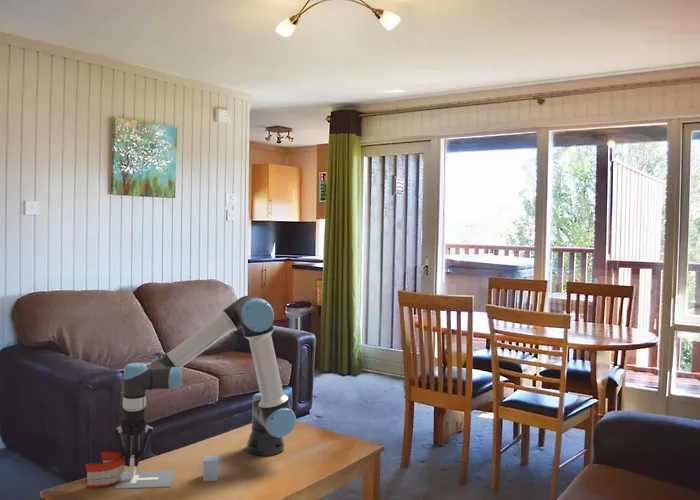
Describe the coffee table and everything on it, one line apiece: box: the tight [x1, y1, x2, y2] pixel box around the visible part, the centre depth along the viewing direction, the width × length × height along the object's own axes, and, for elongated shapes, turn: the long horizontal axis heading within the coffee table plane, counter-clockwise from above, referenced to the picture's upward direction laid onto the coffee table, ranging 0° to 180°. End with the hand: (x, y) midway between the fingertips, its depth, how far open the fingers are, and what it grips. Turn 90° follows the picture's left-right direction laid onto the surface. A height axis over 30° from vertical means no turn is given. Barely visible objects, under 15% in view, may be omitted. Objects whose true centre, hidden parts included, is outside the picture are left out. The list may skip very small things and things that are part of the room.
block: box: [202, 455, 220, 482], centre depth 209 cm, size 5×5×7 cm
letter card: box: [114, 469, 176, 490], centre depth 206 cm, size 18×14×1 cm
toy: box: [85, 451, 126, 489], centre depth 203 cm, size 12×10×8 cm
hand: (132, 475), depth 205 cm, fingers closed
